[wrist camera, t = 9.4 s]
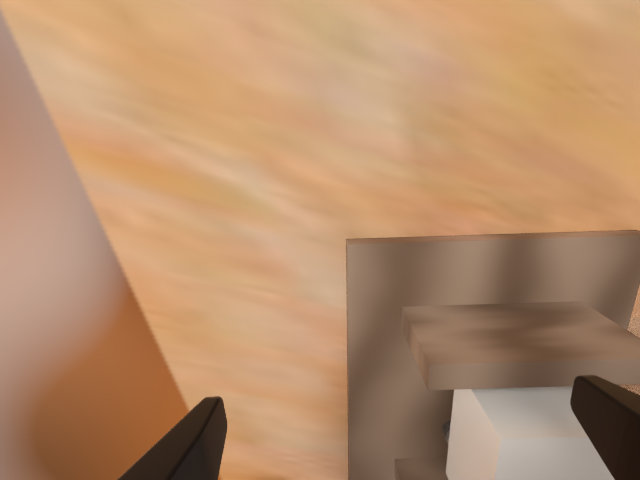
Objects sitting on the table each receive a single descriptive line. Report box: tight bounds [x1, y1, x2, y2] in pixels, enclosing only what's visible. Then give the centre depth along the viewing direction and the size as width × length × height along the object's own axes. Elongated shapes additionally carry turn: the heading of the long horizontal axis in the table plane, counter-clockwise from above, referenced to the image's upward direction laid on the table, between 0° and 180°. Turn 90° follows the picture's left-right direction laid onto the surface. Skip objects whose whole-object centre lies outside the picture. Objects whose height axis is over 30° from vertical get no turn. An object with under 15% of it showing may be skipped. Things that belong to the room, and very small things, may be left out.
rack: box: [346, 230, 640, 480], centre depth 19 cm, size 16×20×6 cm
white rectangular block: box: [446, 386, 615, 480], centre depth 17 cm, size 8×5×4 cm, turn 2°
